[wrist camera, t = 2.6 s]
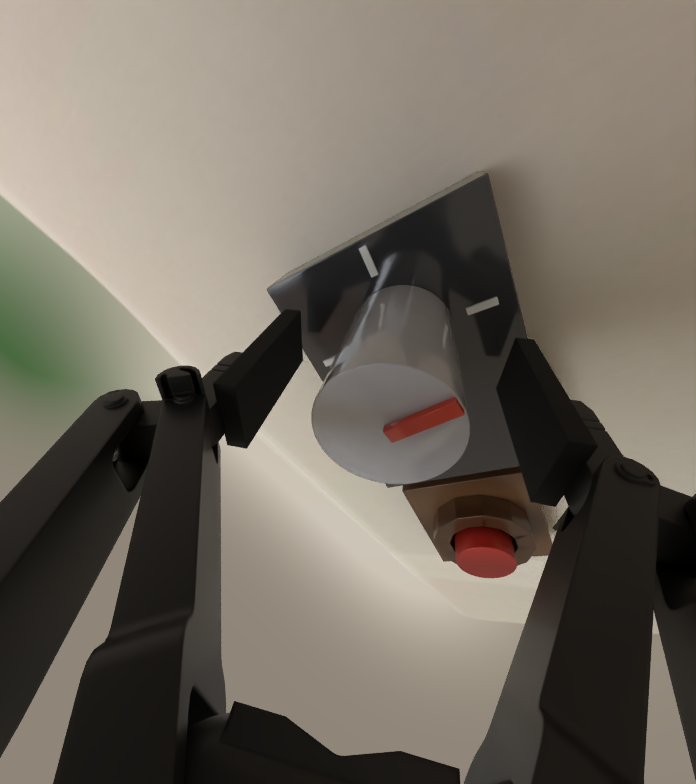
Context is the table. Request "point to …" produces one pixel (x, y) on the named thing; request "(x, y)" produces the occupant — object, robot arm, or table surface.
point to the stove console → (437, 275)
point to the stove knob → (395, 391)
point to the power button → (485, 552)
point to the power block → (480, 511)
